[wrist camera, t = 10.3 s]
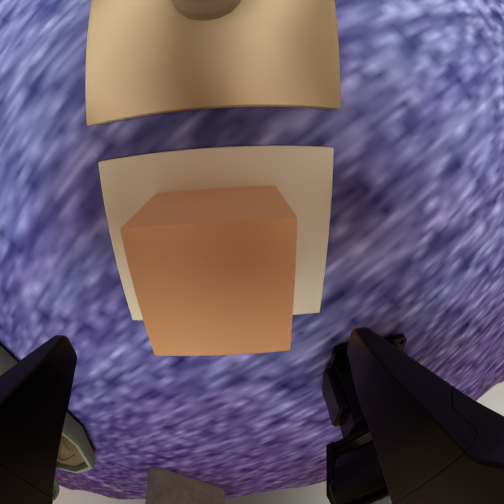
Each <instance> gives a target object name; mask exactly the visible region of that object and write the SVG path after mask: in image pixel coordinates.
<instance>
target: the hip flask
mask: <svg viewBox="0 0 504 504" xmlns="http://www.w3.org/2000/svg"><path fill="white" fill-rule="evenodd" d="M146 504H225V497H224V489H222V488H220V487H217V486H215V485H212V484H209V483H206V482H203V481H200V480H197V479H194V478H191V477H187V476H184V475H181V474H178V473H175V472H172V471H168V470H165V469H162V468H156V467H151V468H150V470H149V477H148V486H147V494H146Z"/></svg>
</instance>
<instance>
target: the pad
mask: <svg viewBox="0 0 504 504" xmlns="http://www.w3.org/2000/svg"><path fill="white" fill-rule="evenodd" d="M333 154H334V148H333V147H325V146H293V145H262V146H230V147H212V148H198V149H186V150H175V151H166V152H157V153H149V154H142V155H135V156H128V157H121V158H115V159H109V160H104V161H100V162H98V164H99V172H100V180H101V187H102V193H103V200H104V205H105V211H106V217H107V222H108V227H109V232H110V237H111V241H112V246H113V250H114V254H115V258H116V263H117V267H118V270H119V274H120V278H121V282H122V285H123V289H124V292H125V296H126V299H127V303H128V306H129V309H130V312H131V316H132V319H133V320H143V317H142V314H141V311H140V308H139V304H138V301H137V297H136V294H135V290H134V286H133V283H132V279H131V275H130V271H129V267H128V263H127V259H126V254H125V250H124V246H123V241H122V236H121V231H120V229H121V227H122V226H123V225H124V224H125V223H126V222H127V221H128V220H129V219H130V218H131V217H132V216H133V215H134V214H135V213H136V212H137V211H138V210H139V209H140V208H141V207H142V206H143V205H144V204H145V203H146V202H147V201H148V200H149V199H150V198H151V197H152V196H153V195H155V194H156V193H165V192H175V191H187V190H200V189H214V188H230V187H251V186H276V187H277V188H278V190H279V191H280V193H281V194H282V196H283V197H284V199H285V200H286V202H287V203H288V205H289V206H290V208H291V209H292V211H293V212H294V214H295V215H296V217H297V244H296V267H295V286H294V303H293V315H296V314H308V313H318V312H320V306H321V298H322V291H323V283H324V275H325V266H326V256H327V247H328V236H329V224H330V211H331V197H332V179H333Z"/></svg>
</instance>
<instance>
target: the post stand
mask: <svg viewBox="0 0 504 504" xmlns="http://www.w3.org/2000/svg"><path fill="white" fill-rule="evenodd" d="M232 107H296V108H315V109H328V110H332V109H341V93H340V62H339V44H338V30H337V19H336V9H335V0H92V3H91V10H90V18H89V27H88V37H87V52H86V119H87V126H92V125H102V124H106V123H111V122H116V121H121V120H126V119H131V118H137V117H143V116H149V115H156V114H163V113H171V112H180V111H189V110H200V109H213V108H232Z"/></svg>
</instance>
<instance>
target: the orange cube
mask: <svg viewBox="0 0 504 504" xmlns="http://www.w3.org/2000/svg"><path fill="white" fill-rule="evenodd" d="M120 231H121V236H122V241H123V246H124V250H125V254H126V259H127V263H128V267H129V271H130V275H131V279H132V283H133V286H134V290H135V294H136V297H137V301H138V304H139V308H140V311H141V314H142V317H143V321H144V324H145V327H146V330H147V333H148V336H149V339H150V342H151V345H152V348H153V351H154V353H155V355H160V356H206V355H234V354H252V353H266V352H278V351H288V350H290V344H291V331H292V318H293V303H294V286H295V267H296V244H297V217H296V215H295V214H294V212H293V211H292V209H291V208H290V206H289V205H288V203H287V202H286V200H285V199H284V197H283V196H282V194H281V193H280V191H279V190H278V188H277V187H276V186H251V187H230V188H214V189H200V190H187V191H175V192H165V193H156V194H155V195H153V196H152V197H151V198H150V199H149V200H148V201H147V202H146V203H145V204H144V205H143V206H142V207H141V208H140V209H139V210H138V211H137V212H136V213H135V214H134V215H133V216H132V217H131V218H130V219H129V220H128V221H127V222H126V223H125V224H124V225H123V226H122V227H121V229H120Z"/></svg>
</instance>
